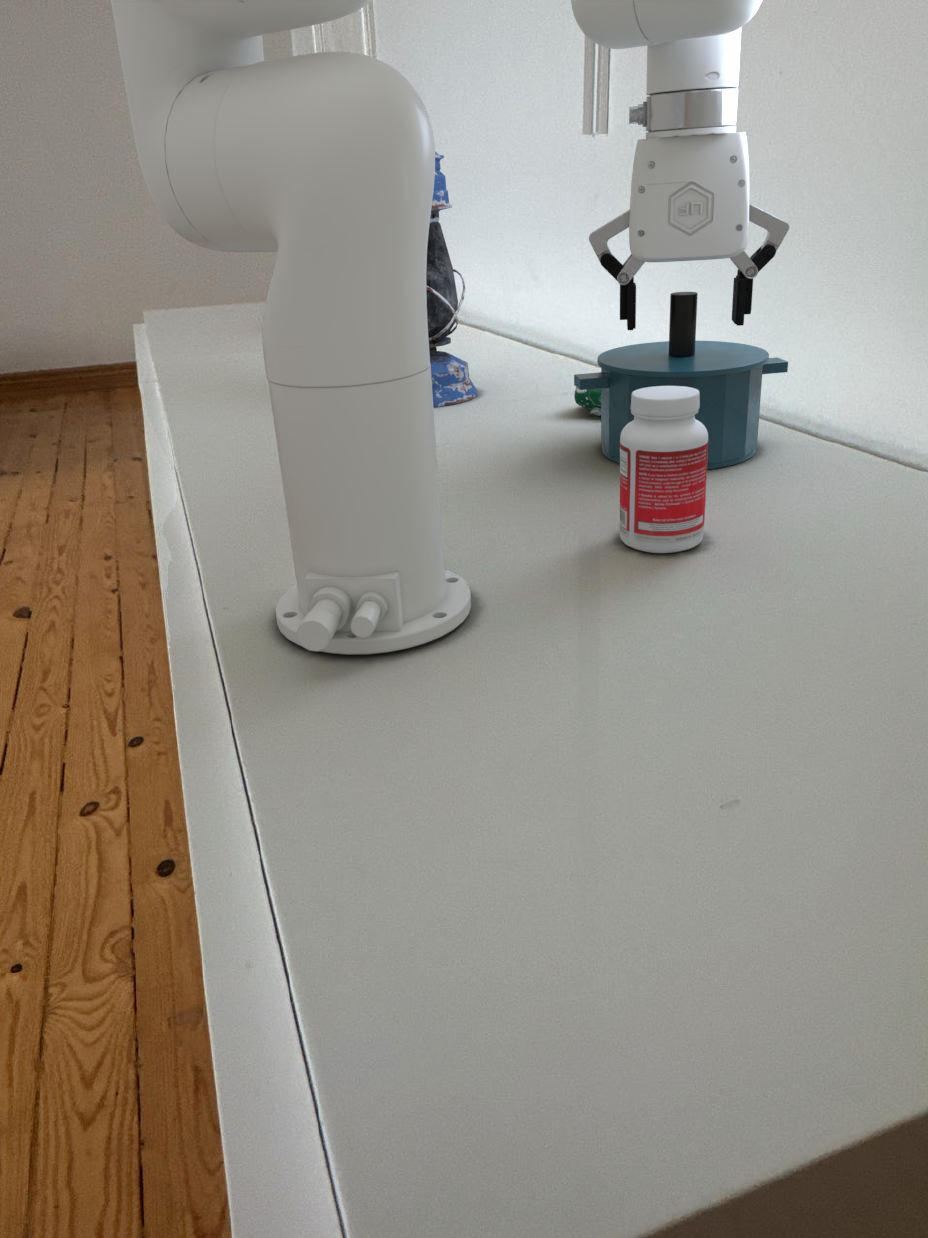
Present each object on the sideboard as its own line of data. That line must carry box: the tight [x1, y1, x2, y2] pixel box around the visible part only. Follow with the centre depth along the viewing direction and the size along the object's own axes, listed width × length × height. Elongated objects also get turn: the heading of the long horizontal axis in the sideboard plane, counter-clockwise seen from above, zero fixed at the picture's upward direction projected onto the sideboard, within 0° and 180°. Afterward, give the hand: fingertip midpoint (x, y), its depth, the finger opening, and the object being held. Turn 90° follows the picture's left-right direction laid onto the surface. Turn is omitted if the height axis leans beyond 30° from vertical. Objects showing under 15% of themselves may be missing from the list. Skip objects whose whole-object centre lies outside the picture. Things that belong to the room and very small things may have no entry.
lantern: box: [426, 150, 478, 408], centre depth 116 cm, size 15×12×30 cm
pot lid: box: [596, 291, 770, 377], centre depth 89 cm, size 16×16×7 cm
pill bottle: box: [619, 386, 708, 554], centre depth 70 cm, size 6×6×11 cm
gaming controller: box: [573, 386, 601, 416], centre depth 107 cm, size 9×4×6 cm
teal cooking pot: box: [573, 357, 789, 470], centre depth 92 cm, size 15×20×8 cm
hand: (683, 325), depth 89 cm, fingers open, 9 cm apart
